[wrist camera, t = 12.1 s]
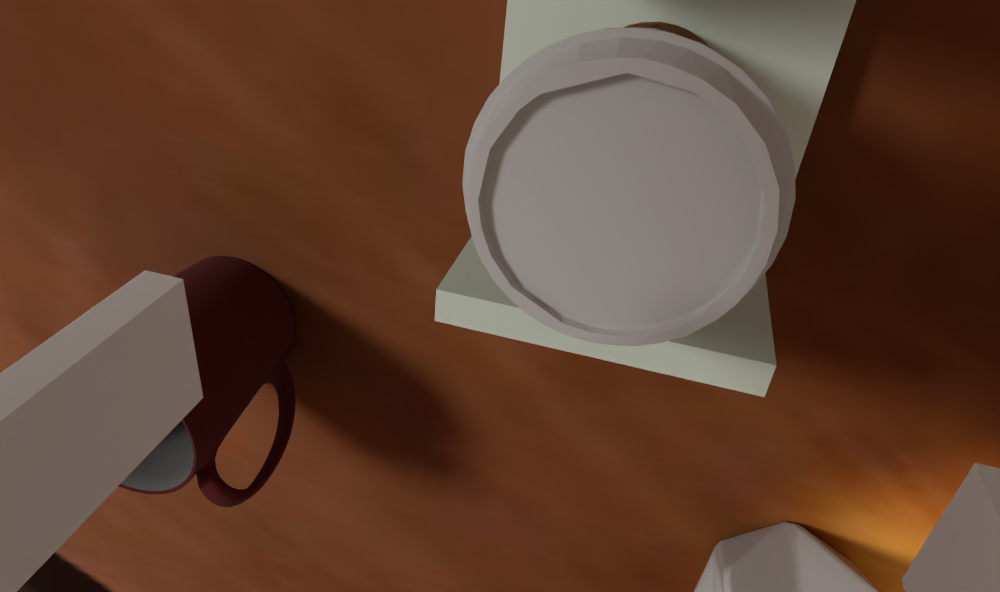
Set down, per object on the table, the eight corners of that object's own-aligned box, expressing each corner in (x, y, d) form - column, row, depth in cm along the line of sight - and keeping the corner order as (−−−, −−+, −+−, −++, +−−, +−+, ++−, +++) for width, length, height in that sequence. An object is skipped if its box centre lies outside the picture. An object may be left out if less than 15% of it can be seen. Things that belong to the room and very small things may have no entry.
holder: (529, -140, 28) (460, -142, 20) (881, -99, 26) (948, -85, 18) (492, 227, 36) (434, 320, 29) (753, 281, 34) (764, 397, 27)
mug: (372, 361, 43) (279, 495, 34) (291, 421, 48) (190, 554, 38) (221, 215, 40) (76, 317, 31) (151, 294, 45) (6, 403, 36)
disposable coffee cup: (812, 14, 27) (871, 100, 17) (715, 233, 32) (716, 399, 22) (569, -53, 28) (486, -10, 18) (513, 170, 33) (426, 301, 23)
